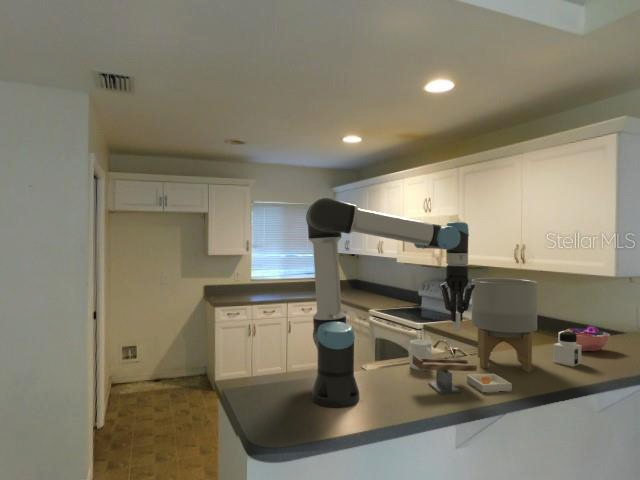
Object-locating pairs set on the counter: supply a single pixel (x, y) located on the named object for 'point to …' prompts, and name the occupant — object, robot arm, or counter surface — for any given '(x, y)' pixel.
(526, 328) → the planter
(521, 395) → the counter surface
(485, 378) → the ball
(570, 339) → the container
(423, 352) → the mug
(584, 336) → the cell model
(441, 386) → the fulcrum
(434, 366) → the plank
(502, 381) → the dish
